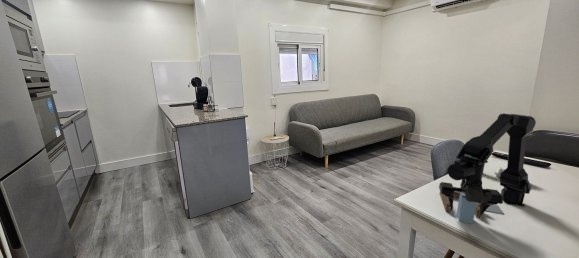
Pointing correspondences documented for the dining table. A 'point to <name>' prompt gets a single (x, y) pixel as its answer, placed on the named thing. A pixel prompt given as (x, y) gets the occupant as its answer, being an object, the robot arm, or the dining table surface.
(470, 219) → the slate block
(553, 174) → the dining table surface
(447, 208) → the brown angular open frame
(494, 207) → the grey mat
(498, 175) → the chubby cartoon animal
